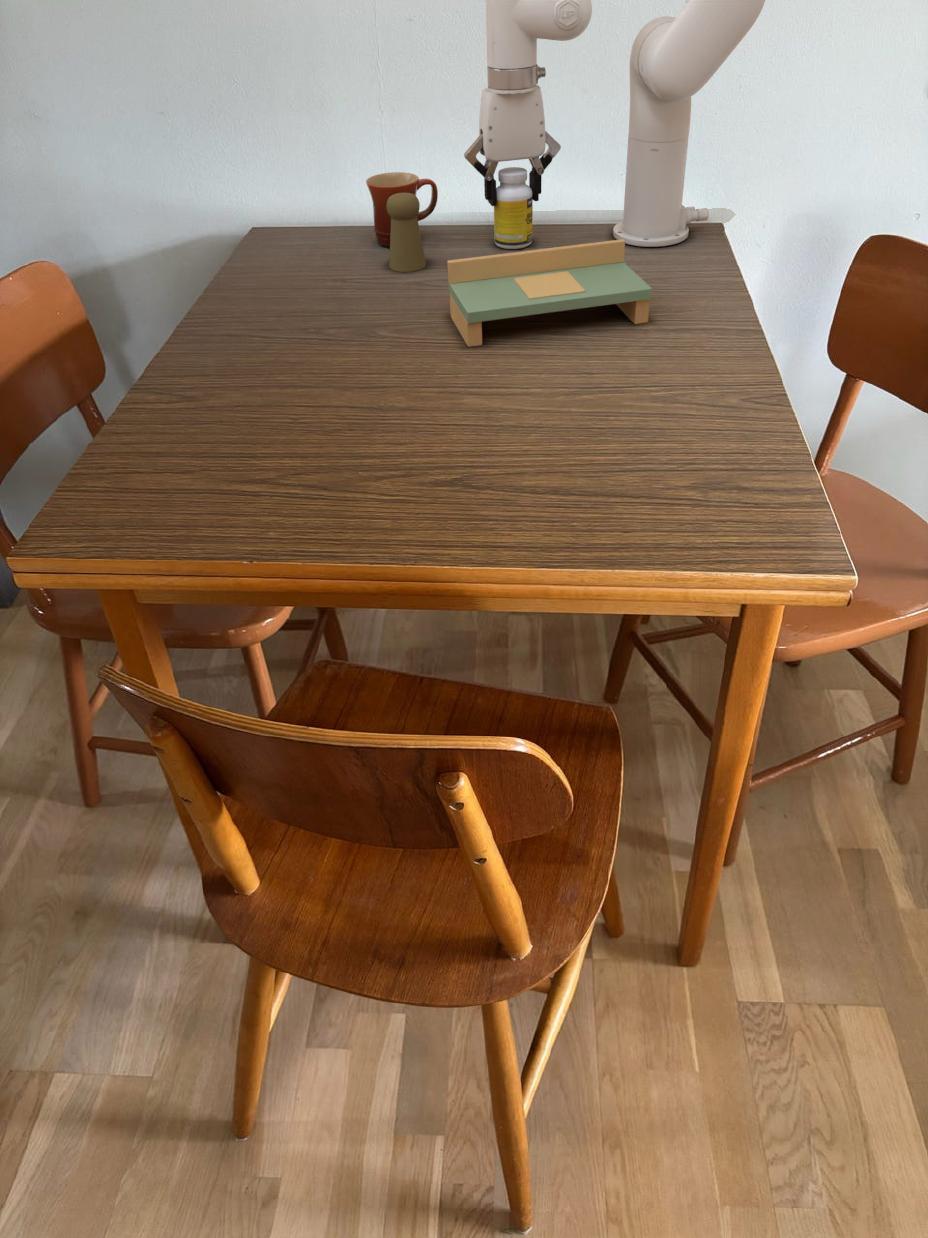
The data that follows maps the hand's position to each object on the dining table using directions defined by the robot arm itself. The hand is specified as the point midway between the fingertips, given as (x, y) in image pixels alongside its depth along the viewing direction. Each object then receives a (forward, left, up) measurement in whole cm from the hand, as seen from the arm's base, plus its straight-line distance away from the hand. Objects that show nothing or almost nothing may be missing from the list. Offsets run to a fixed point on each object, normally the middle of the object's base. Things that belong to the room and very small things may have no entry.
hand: (513, 200), depth 158 cm
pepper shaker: (+19, +4, -7) cm, 21 cm away
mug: (+17, -8, -7) cm, 20 cm away
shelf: (+4, +33, -7) cm, 34 cm away
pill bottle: (0, 0, -7) cm, 7 cm away
